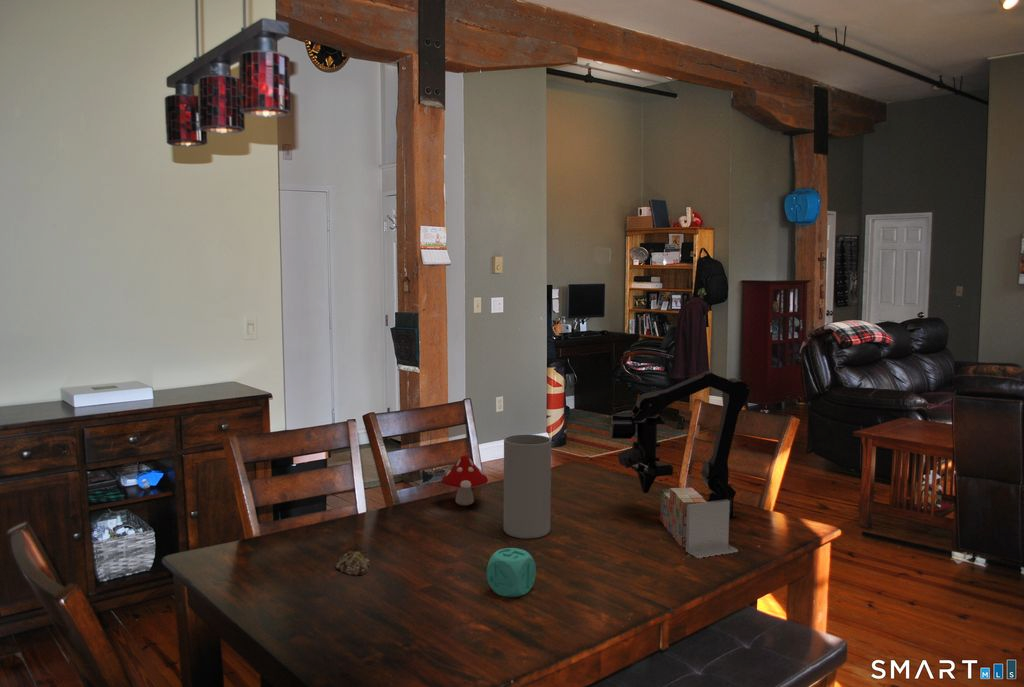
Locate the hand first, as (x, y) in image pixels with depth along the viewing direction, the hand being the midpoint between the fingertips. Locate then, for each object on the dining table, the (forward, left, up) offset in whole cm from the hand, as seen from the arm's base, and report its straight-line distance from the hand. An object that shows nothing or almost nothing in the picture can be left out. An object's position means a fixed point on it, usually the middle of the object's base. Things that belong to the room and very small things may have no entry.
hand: (645, 492), depth 218 cm
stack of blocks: (-1, +17, -7) cm, 18 cm away
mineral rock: (+84, +8, -7) cm, 85 cm away
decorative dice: (+55, +33, -7) cm, 64 cm away
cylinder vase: (+37, 0, -7) cm, 37 cm away
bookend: (0, +31, -7) cm, 31 cm away
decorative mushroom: (+45, -28, -7) cm, 53 cm away
